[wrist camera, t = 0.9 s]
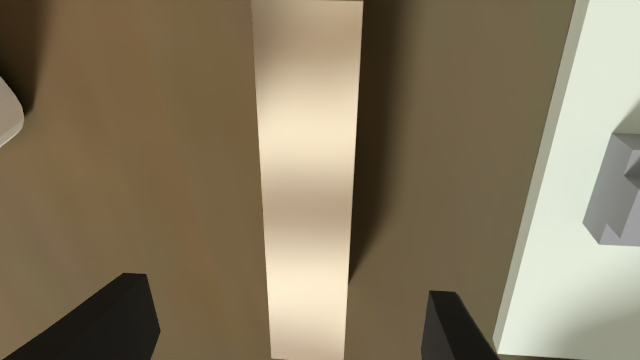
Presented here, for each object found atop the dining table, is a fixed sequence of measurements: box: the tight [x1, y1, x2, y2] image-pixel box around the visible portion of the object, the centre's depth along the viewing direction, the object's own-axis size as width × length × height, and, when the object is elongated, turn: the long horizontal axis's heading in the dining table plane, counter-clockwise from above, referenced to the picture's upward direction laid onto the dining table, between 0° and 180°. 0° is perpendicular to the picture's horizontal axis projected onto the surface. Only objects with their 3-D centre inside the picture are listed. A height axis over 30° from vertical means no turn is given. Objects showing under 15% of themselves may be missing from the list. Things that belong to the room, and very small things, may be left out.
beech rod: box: [251, 0, 364, 360], centre depth 17 cm, size 14×3×5 cm, turn 179°
